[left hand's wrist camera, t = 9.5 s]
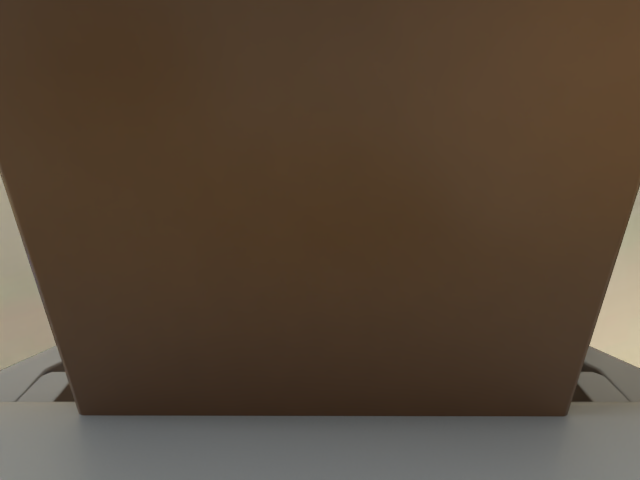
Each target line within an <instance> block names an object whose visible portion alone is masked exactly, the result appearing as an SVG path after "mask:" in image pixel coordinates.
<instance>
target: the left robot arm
mask: <svg viewBox="0 0 640 480" xmlns="http://www.w3.org/2000/svg"><path fill="white" fill-rule="evenodd" d="M0 480H640V368H638V367H636V366H633V365H631V364H629V363H627V362H624V361H622V360H620V359H618V358H615V357H613V356H611V355H609V354H606V353H604V352H602V351H600V350H597V349H595V348H593V347H591V346H589V347H588V351H587V354H586V357H585V360H584V363H583V366H582V370H581V373H580V376H579V379H578V382H577V385H576V389H575V392H574V395H573V398H572V401H571V404H570V408H569V411H568V414H567V415H566V416H99V415H80V414H79V413H78V410H77V407H76V403H75V400H74V397H73V394H72V391H71V388H70V385H69V382H68V379H67V376H66V373H65V370H64V367H63V364H62V361H61V358H60V354H59V351H58V348H57V345H56V346H54V347H52V348H50V349H47V350H45V351H43V352H41V353H38V354H36V355H34V356H32V357H29V358H27V359H25V360H23V361H21V362H18V363H16V364H14V365H12V366H9V367H7V368H5V369H3V370H1V371H0Z"/></svg>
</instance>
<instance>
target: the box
mask: <svg viewBox="0 0 640 480" xmlns="http://www.w3.org/2000/svg"><path fill="white" fill-rule="evenodd" d="M0 174H1V177H2V180H3V183H4V186H5V189H6V192H7V195H8V198H9V201H10V204H11V207H12V211H13V214H14V217H15V220H16V223H17V226H18V229H19V232H20V235H21V238H22V241H23V244H24V247H25V250H26V253H27V256H28V260H29V263H30V266H31V269H32V272H33V275H34V278H35V281H36V284H37V287H38V290H39V293H40V296H41V299H42V302H43V305H44V309H45V312H46V315H47V318H48V321H49V324H50V327H51V330H52V333H53V336H54V339H55V342H56V345H57V348H58V351H59V354H60V358H61V361H62V364H63V367H64V370H65V373H66V376H67V379H68V382H69V385H70V388H71V391H72V394H73V397H74V400H75V403H76V407H77V410H78V413H79V414H80V415H99V416H566V415H567V414H568V411H569V408H570V404H571V401H572V398H573V395H574V392H575V389H576V385H577V382H578V379H579V376H580V373H581V370H582V366H583V363H584V360H585V357H586V354H587V351H588V347H589V344H590V341H591V338H592V335H593V332H594V328H595V325H596V322H597V319H598V316H599V313H600V310H601V306H602V303H603V300H604V297H605V294H606V291H607V287H608V284H609V281H610V278H611V275H612V272H613V268H614V265H615V262H616V259H617V256H618V253H619V249H620V246H621V243H622V240H623V237H624V234H625V230H626V227H627V224H628V221H629V218H630V215H631V211H632V208H633V205H634V202H635V199H636V196H637V192H638V189H639V186H640V0H0Z"/></svg>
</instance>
